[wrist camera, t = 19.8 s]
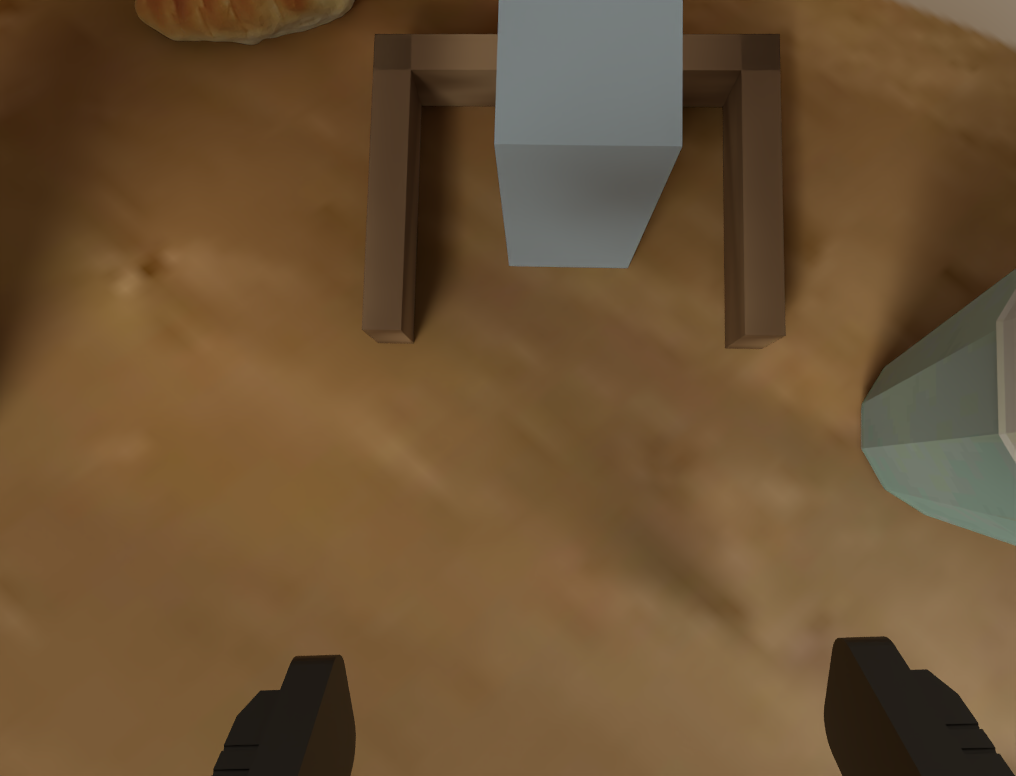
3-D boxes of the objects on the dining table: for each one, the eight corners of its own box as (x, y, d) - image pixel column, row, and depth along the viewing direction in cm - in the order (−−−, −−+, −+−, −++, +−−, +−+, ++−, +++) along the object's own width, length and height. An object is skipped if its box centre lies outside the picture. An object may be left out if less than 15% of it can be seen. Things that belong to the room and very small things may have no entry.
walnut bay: (378, 342, 32) (362, 329, 29) (389, 73, 33) (374, 33, 30) (761, 348, 32) (785, 335, 29) (757, 74, 33) (779, 34, 30)
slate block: (509, 266, 32) (494, 143, 20) (512, 153, 33) (500, -30, 21) (627, 268, 32) (682, 146, 20) (628, 154, 33) (682, -30, 21)
